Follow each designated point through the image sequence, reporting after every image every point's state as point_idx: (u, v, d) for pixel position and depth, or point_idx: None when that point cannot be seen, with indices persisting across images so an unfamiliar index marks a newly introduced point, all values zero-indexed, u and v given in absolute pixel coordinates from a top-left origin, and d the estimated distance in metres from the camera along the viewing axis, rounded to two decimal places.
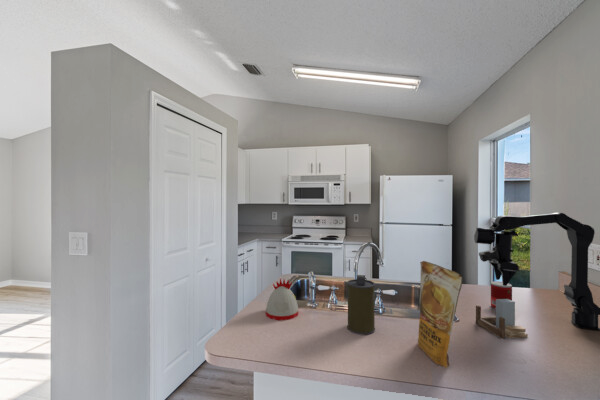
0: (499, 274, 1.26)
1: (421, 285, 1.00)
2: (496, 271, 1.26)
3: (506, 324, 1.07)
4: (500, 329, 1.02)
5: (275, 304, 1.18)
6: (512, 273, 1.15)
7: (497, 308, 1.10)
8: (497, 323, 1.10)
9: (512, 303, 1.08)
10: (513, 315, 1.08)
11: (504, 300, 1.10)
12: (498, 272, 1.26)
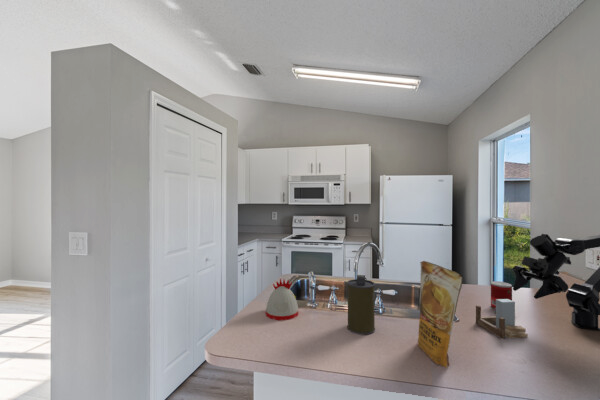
0: (518, 286, 1.15)
1: (421, 285, 1.00)
2: (518, 282, 1.15)
3: (506, 324, 1.07)
4: (500, 329, 1.02)
5: (275, 304, 1.18)
6: (552, 291, 1.04)
7: (497, 308, 1.10)
8: (497, 323, 1.10)
9: (512, 303, 1.08)
10: (513, 315, 1.08)
11: (504, 300, 1.10)
12: (518, 284, 1.15)
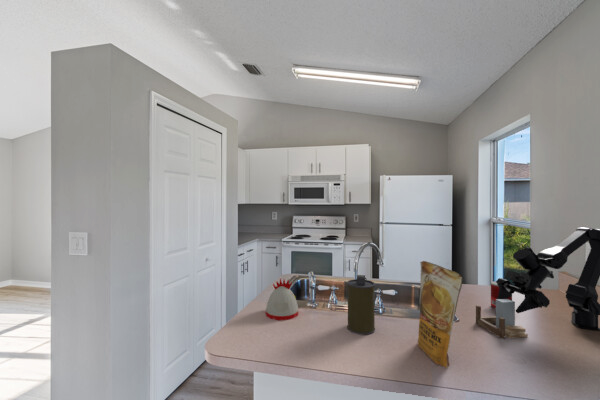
0: None
1: (421, 285, 1.00)
2: (501, 295, 1.14)
3: (506, 324, 1.07)
4: (500, 329, 1.02)
5: (275, 304, 1.18)
6: (534, 306, 1.03)
7: (497, 308, 1.10)
8: (497, 323, 1.10)
9: (512, 303, 1.08)
10: (513, 315, 1.08)
11: (504, 300, 1.10)
12: (502, 297, 1.14)
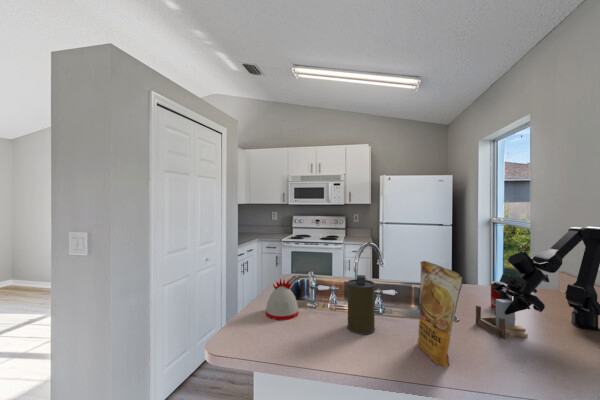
0: None
1: (421, 285, 1.00)
2: None
3: (506, 324, 1.07)
4: (500, 329, 1.02)
5: (275, 304, 1.18)
6: (522, 308, 1.06)
7: (497, 308, 1.10)
8: (497, 323, 1.10)
9: None
10: (513, 315, 1.08)
11: (504, 300, 1.10)
12: None
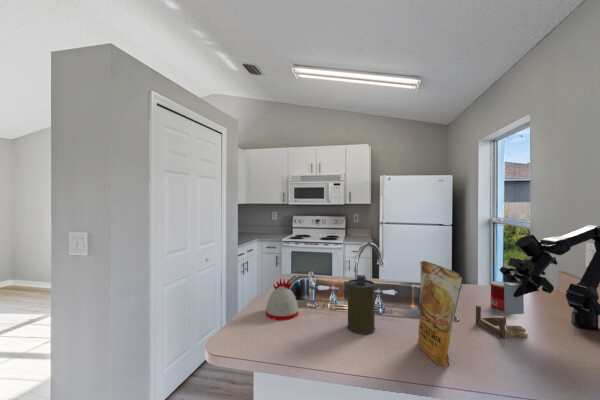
0: None
1: (421, 285, 1.00)
2: None
3: (515, 307, 1.08)
4: (500, 329, 1.02)
5: (275, 304, 1.18)
6: (531, 290, 1.06)
7: (505, 291, 1.10)
8: (506, 306, 1.10)
9: None
10: (522, 298, 1.08)
11: (512, 283, 1.10)
12: None
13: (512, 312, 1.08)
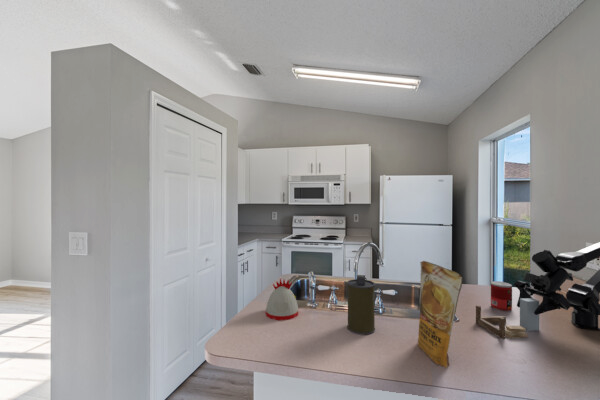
0: None
1: (421, 285, 1.00)
2: None
3: (531, 323, 1.08)
4: (500, 329, 1.02)
5: (275, 304, 1.18)
6: (552, 308, 1.05)
7: (521, 307, 1.11)
8: (521, 322, 1.11)
9: (536, 302, 1.09)
10: None
11: (528, 299, 1.11)
12: None
13: (528, 328, 1.08)
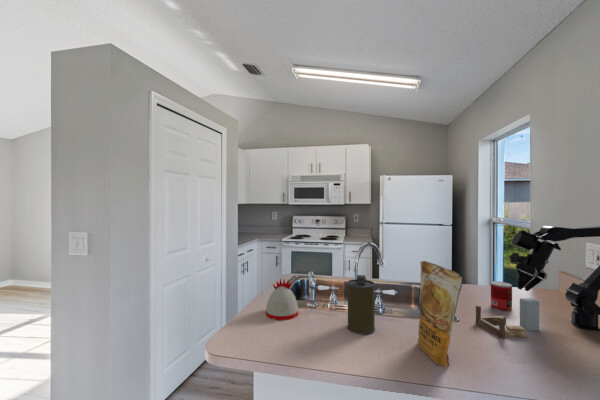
0: (530, 286, 1.19)
1: (421, 285, 1.00)
2: (528, 282, 1.20)
3: (531, 323, 1.08)
4: (500, 329, 1.02)
5: (275, 304, 1.18)
6: (529, 278, 1.12)
7: (521, 307, 1.11)
8: (521, 322, 1.11)
9: (536, 302, 1.09)
10: (537, 314, 1.09)
11: (528, 299, 1.11)
12: (530, 283, 1.20)
13: (528, 328, 1.08)
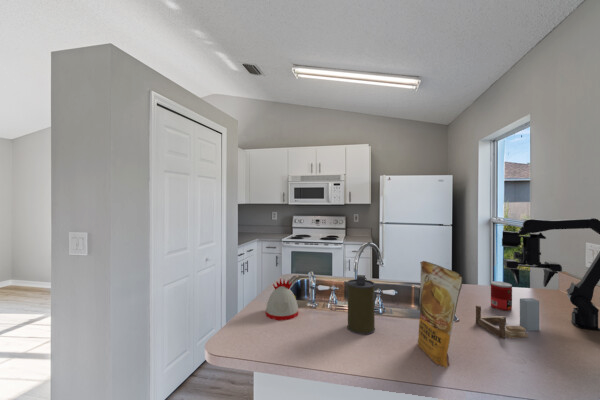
0: (545, 281, 1.19)
1: (421, 285, 1.00)
2: (544, 278, 1.21)
3: (531, 323, 1.08)
4: (500, 329, 1.02)
5: (275, 304, 1.18)
6: (514, 271, 1.22)
7: (521, 307, 1.11)
8: (521, 322, 1.11)
9: (536, 302, 1.09)
10: (537, 314, 1.09)
11: (528, 299, 1.11)
12: (545, 279, 1.20)
13: (528, 328, 1.08)
